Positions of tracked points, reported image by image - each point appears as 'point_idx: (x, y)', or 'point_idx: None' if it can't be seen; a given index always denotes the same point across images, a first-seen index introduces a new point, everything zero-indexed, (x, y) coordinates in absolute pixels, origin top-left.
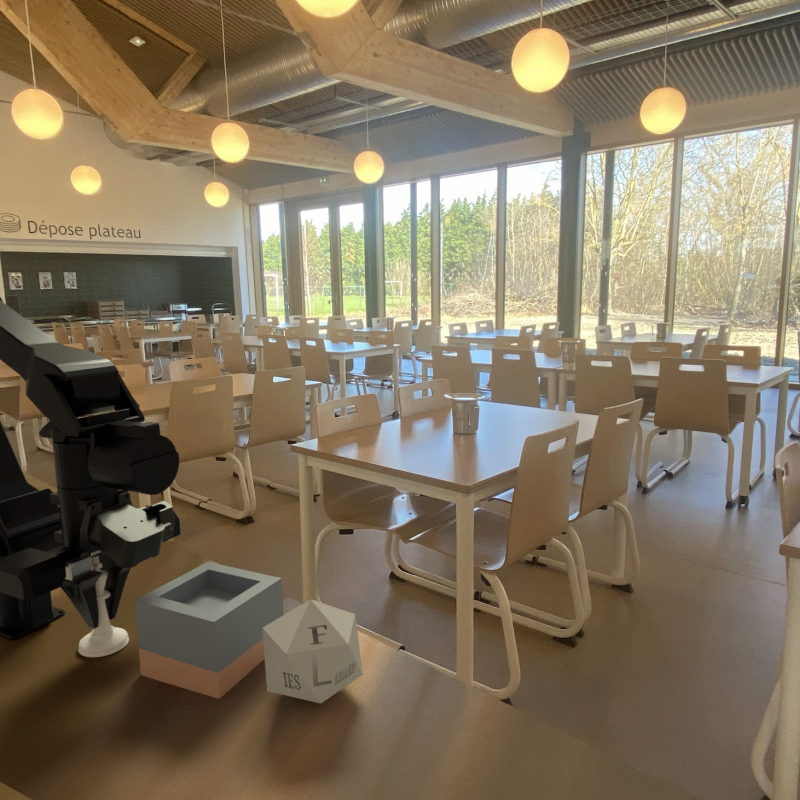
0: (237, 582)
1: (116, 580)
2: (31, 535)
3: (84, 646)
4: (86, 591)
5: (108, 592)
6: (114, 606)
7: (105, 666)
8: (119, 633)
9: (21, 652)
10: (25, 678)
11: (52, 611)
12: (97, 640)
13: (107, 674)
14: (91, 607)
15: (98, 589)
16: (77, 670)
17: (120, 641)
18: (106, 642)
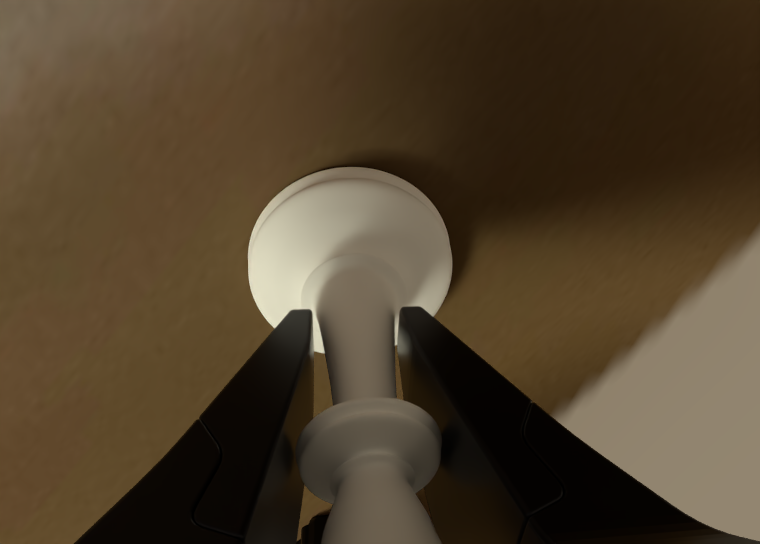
0: None
1: (260, 499)
2: None
3: (441, 287)
4: (630, 499)
5: (325, 439)
6: (297, 345)
7: (477, 112)
8: (303, 239)
9: None
10: (618, 310)
11: (314, 542)
12: (403, 268)
13: (529, 42)
14: (495, 381)
15: (407, 494)
16: (536, 197)
17: (338, 187)
18: (389, 226)
